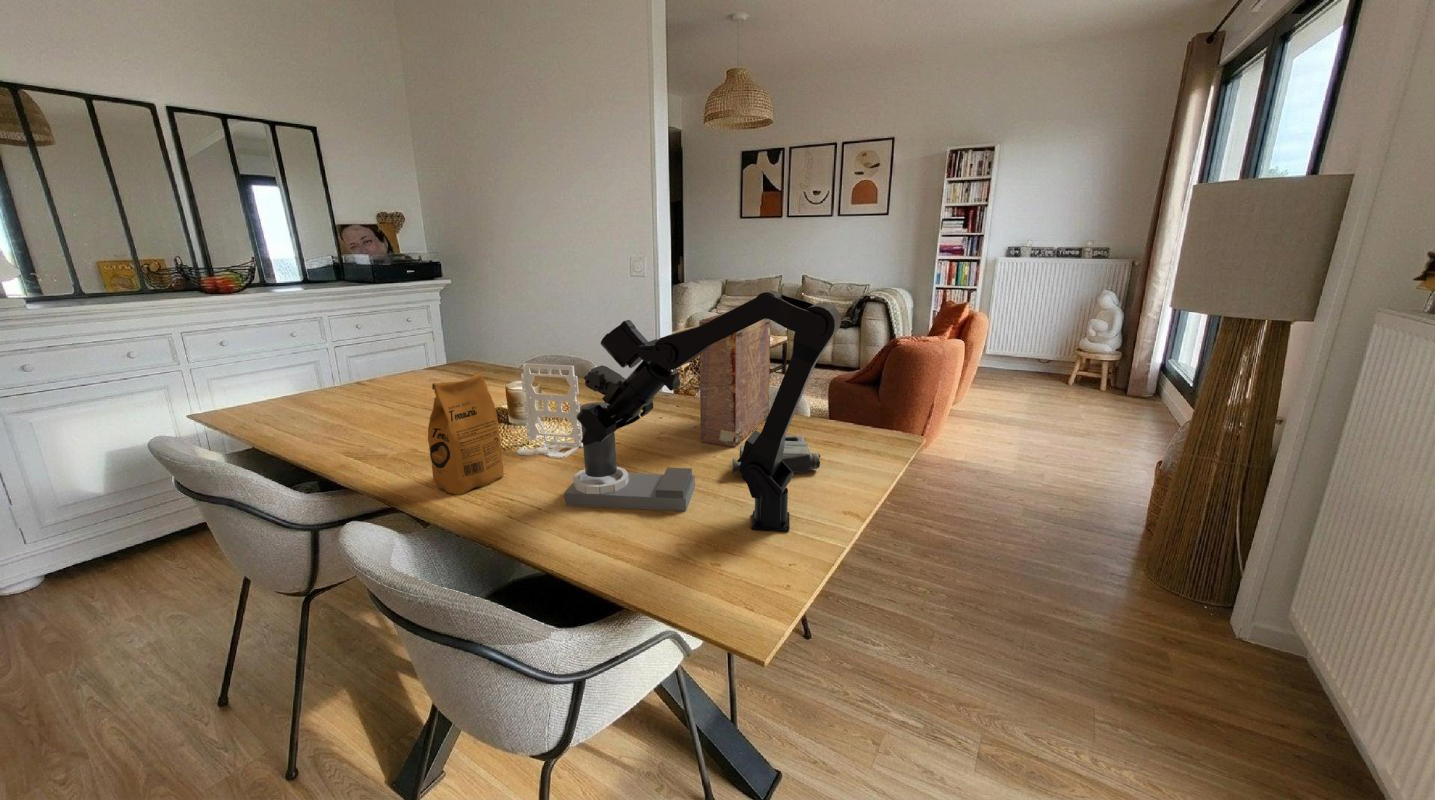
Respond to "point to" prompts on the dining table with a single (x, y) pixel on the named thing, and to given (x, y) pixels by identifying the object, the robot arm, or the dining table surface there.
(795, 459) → the camcorder
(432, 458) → the coffee package
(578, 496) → the grey stepped base
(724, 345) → the book
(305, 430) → the dining table surface
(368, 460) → the dining table surface
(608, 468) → the dark grey cylinder
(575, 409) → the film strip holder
